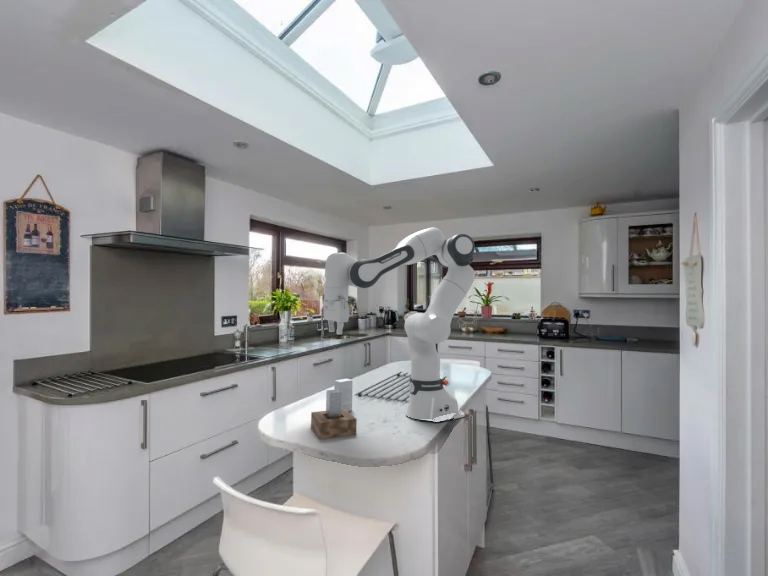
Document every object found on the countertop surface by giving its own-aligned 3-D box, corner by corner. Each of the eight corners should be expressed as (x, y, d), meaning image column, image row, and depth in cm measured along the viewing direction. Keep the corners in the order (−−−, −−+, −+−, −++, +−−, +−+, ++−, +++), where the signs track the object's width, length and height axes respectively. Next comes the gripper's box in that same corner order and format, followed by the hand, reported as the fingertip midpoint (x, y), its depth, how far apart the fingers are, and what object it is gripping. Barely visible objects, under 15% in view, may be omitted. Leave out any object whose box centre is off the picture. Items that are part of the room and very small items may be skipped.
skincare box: (345, 408, 150) (346, 378, 151) (352, 410, 147) (353, 379, 148) (333, 411, 146) (334, 380, 147) (340, 413, 143) (340, 382, 144)
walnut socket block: (344, 422, 132) (344, 408, 133) (356, 434, 122) (356, 418, 122) (311, 427, 127) (311, 412, 128) (320, 439, 117) (320, 423, 117)
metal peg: (337, 424, 127) (337, 389, 128) (340, 428, 124) (341, 392, 124) (325, 426, 126) (326, 390, 126) (328, 430, 122) (329, 393, 122)
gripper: (353, 296, 131) (352, 335, 131) (336, 296, 150) (335, 330, 149) (336, 295, 129) (335, 336, 128) (321, 295, 147) (320, 331, 147)
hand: (335, 333), depth 139 cm, fingers open, 8 cm apart
